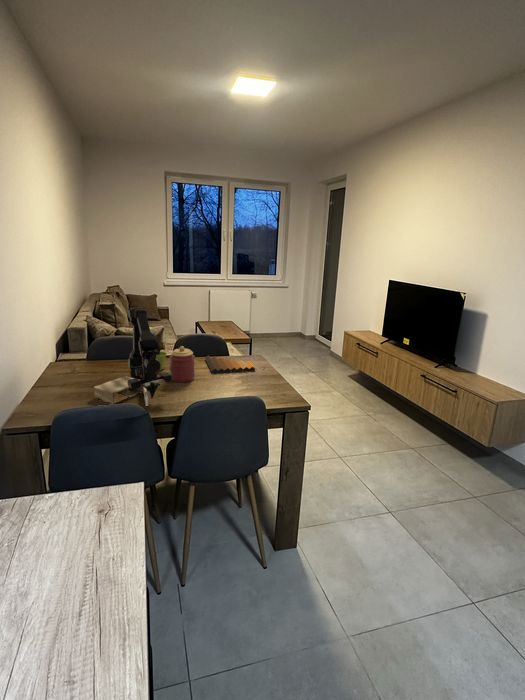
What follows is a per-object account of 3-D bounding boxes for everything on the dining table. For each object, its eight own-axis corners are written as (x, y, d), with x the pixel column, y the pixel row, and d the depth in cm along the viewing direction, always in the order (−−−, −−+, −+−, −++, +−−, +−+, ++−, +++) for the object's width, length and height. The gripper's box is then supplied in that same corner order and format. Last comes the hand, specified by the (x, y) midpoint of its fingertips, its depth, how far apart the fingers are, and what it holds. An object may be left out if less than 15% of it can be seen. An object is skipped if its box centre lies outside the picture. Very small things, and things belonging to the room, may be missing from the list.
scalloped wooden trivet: (205, 360, 243) (211, 374, 220) (205, 355, 242) (211, 368, 219) (244, 358, 250) (255, 372, 227) (245, 353, 249) (255, 366, 226)
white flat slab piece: (143, 392, 190) (142, 382, 189) (145, 392, 191) (144, 381, 189) (145, 407, 174) (145, 396, 173) (148, 407, 175) (147, 396, 173)
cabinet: (126, 386, 197) (125, 375, 195) (143, 392, 191) (143, 381, 189) (95, 398, 182) (94, 386, 180) (112, 404, 176) (111, 392, 174)
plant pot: (149, 366, 226) (148, 352, 224) (165, 365, 230) (165, 350, 228) (151, 372, 218) (151, 356, 216) (169, 370, 222) (168, 355, 220)
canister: (164, 379, 208) (163, 347, 203) (180, 372, 219) (180, 341, 214) (184, 384, 202) (184, 351, 197) (200, 377, 213) (199, 345, 208)
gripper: (162, 357, 187) (164, 388, 191) (122, 364, 176) (125, 396, 181) (172, 363, 178) (173, 396, 182) (130, 371, 168) (133, 405, 172)
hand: (151, 398), depth 180 cm, fingers closed
